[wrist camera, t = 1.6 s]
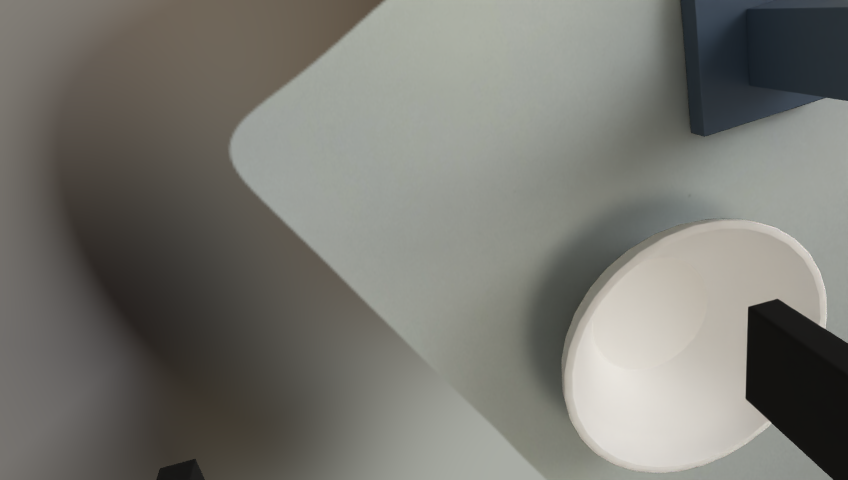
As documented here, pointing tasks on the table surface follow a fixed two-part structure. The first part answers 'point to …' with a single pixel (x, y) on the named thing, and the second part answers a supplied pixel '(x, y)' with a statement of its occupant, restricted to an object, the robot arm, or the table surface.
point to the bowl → (679, 342)
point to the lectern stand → (761, 58)
